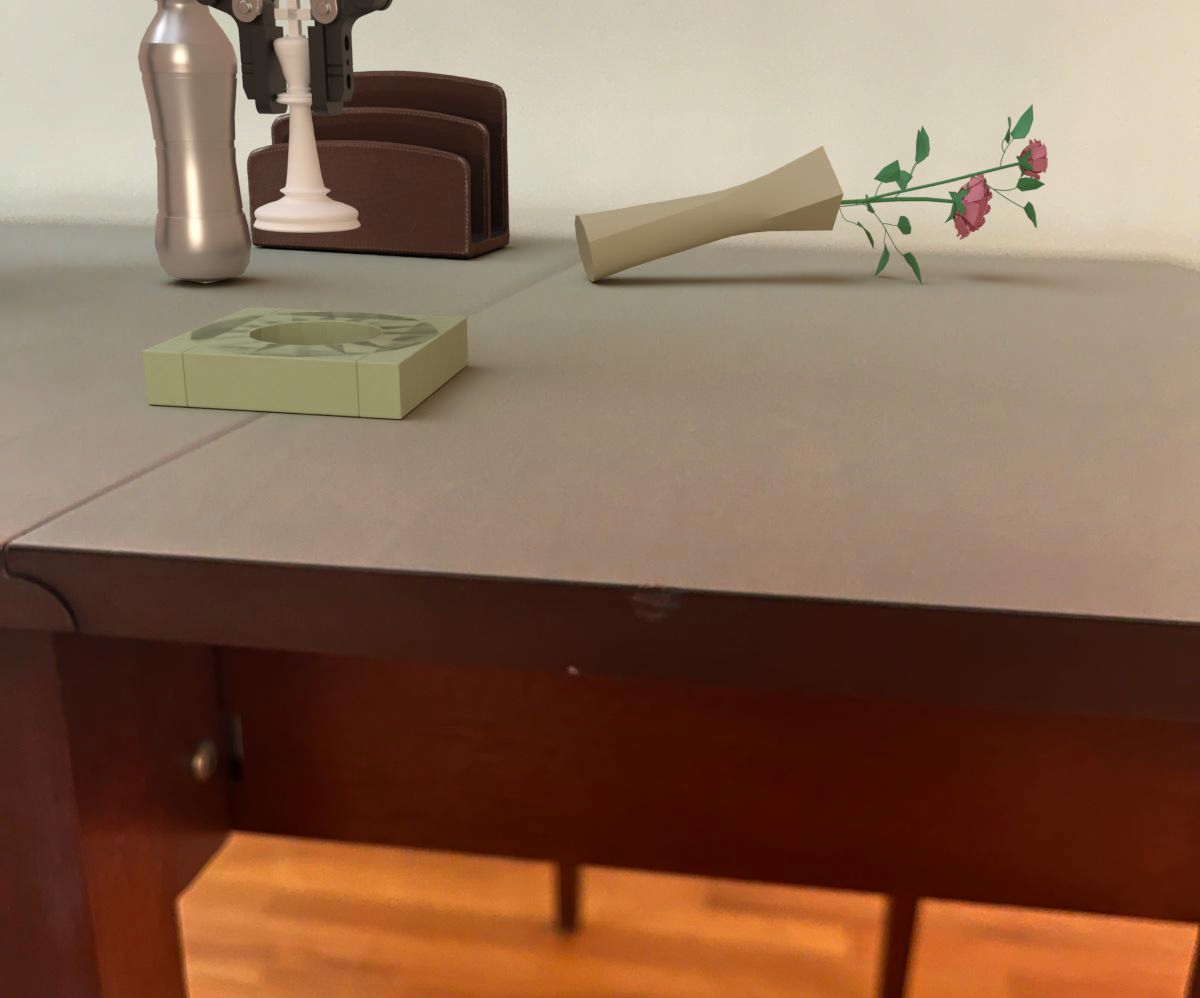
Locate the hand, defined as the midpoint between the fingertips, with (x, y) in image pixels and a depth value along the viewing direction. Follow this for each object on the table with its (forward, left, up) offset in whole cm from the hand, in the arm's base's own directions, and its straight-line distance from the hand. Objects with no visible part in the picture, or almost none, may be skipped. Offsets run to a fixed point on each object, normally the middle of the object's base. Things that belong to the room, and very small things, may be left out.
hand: (300, 112), depth 60 cm
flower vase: (+23, +42, -13) cm, 50 cm away
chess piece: (0, 0, -5) cm, 5 cm away
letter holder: (-13, +51, -13) cm, 54 cm away
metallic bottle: (-19, +29, -13) cm, 37 cm away
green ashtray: (0, 0, -12) cm, 12 cm away
